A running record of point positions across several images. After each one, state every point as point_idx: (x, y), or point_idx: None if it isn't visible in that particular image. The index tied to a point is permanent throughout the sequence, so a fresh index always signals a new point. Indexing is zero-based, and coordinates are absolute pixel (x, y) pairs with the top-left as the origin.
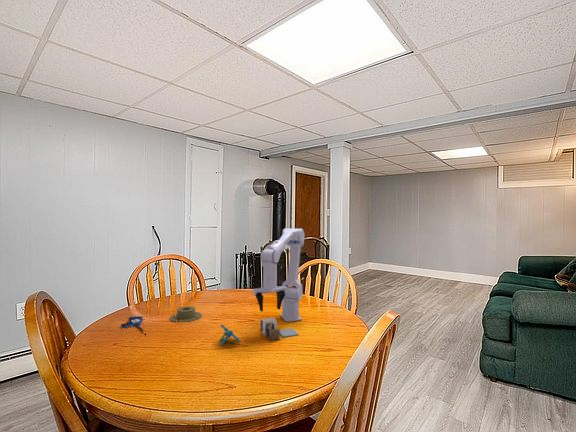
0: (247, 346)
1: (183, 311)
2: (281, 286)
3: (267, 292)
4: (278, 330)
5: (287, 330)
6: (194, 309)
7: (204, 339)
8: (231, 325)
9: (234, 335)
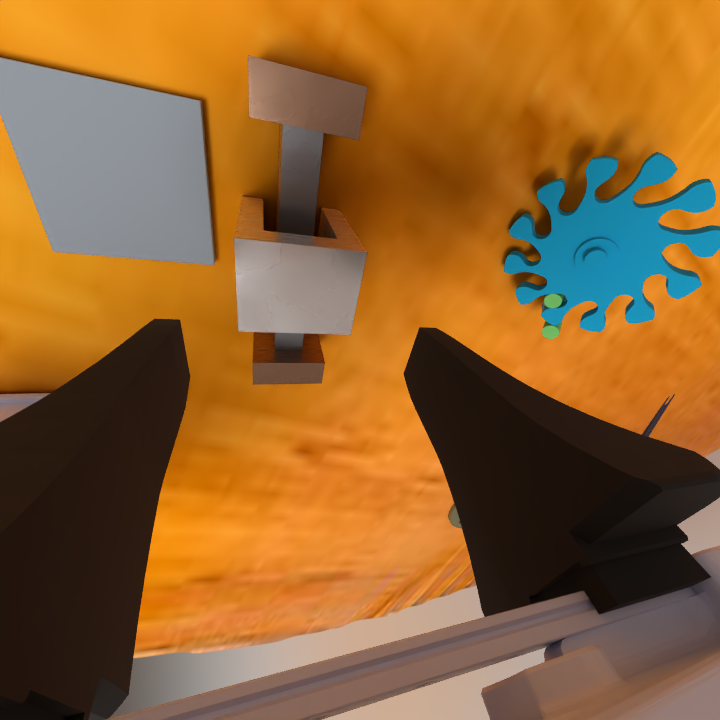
0: (530, 104)
1: None
2: None
3: (452, 644)
4: (264, 61)
5: (117, 221)
6: None
7: None
8: (418, 422)
9: (664, 155)
